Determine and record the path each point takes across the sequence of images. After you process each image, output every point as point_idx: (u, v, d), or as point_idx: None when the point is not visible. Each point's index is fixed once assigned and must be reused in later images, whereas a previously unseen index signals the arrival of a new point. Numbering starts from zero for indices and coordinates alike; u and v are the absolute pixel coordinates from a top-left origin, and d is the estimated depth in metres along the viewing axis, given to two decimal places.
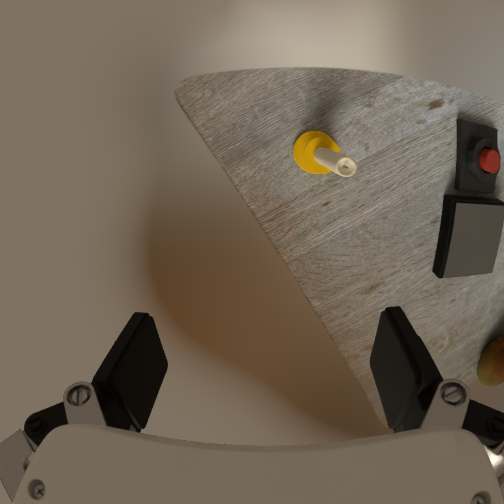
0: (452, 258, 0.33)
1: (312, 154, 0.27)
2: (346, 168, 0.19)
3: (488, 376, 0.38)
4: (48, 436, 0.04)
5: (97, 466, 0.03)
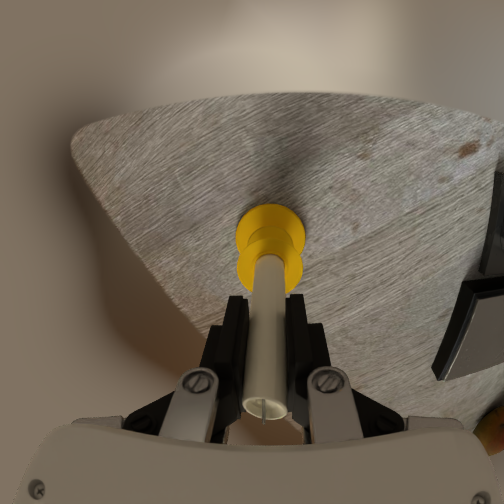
0: (459, 361, 0.23)
1: (252, 267, 0.17)
2: (268, 404, 0.08)
3: None
4: (48, 436, 0.04)
5: (97, 466, 0.03)
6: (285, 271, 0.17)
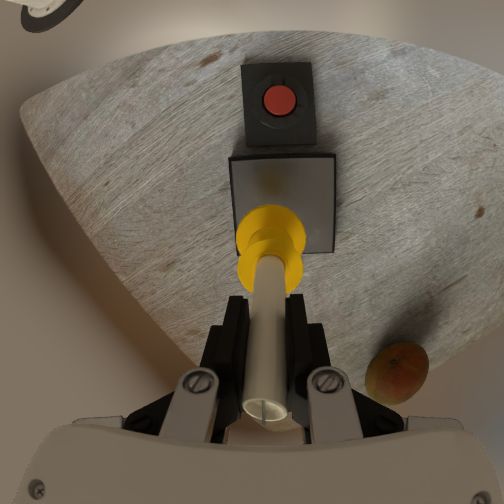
0: None
1: (252, 268, 0.17)
2: (267, 405, 0.08)
3: (372, 392, 0.38)
4: (48, 436, 0.04)
5: (97, 466, 0.03)
6: (285, 272, 0.17)
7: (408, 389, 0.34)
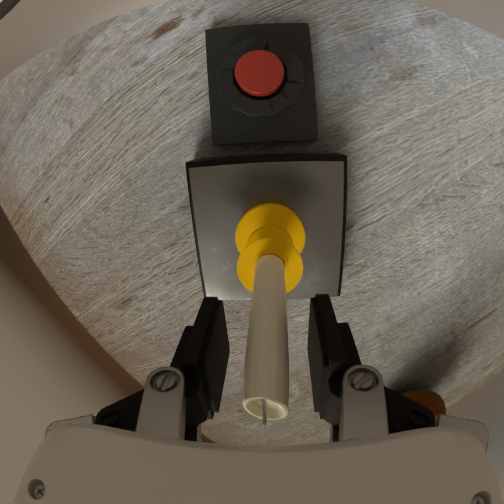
0: (212, 268, 0.23)
1: (252, 267, 0.17)
2: (268, 404, 0.08)
3: None
4: (48, 436, 0.04)
5: (97, 466, 0.03)
6: (285, 271, 0.17)
7: None
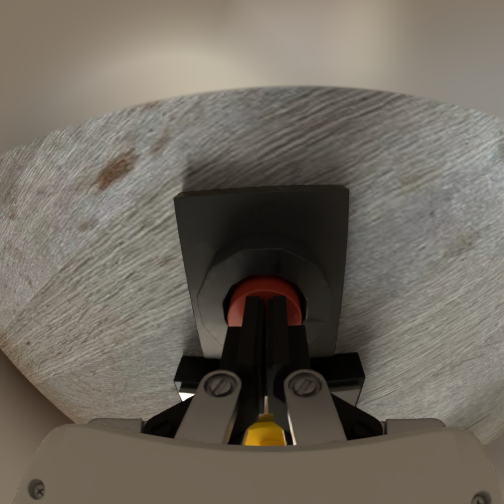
0: None
1: None
2: None
3: None
4: (48, 436, 0.04)
5: (97, 466, 0.03)
6: None
7: None
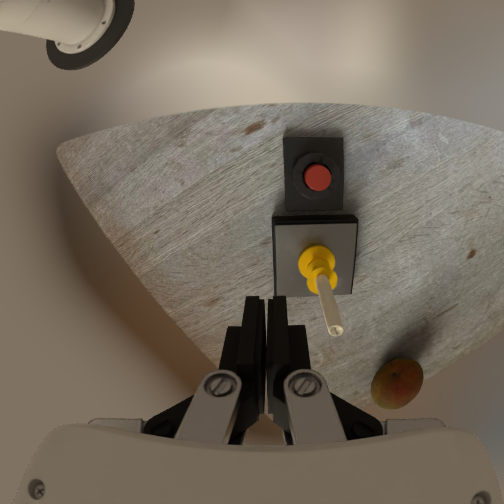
0: (283, 279, 0.41)
1: (314, 280, 0.34)
2: (336, 329, 0.26)
3: (377, 399, 0.45)
4: (48, 436, 0.04)
5: (97, 466, 0.03)
6: (329, 282, 0.35)
7: (406, 396, 0.42)
